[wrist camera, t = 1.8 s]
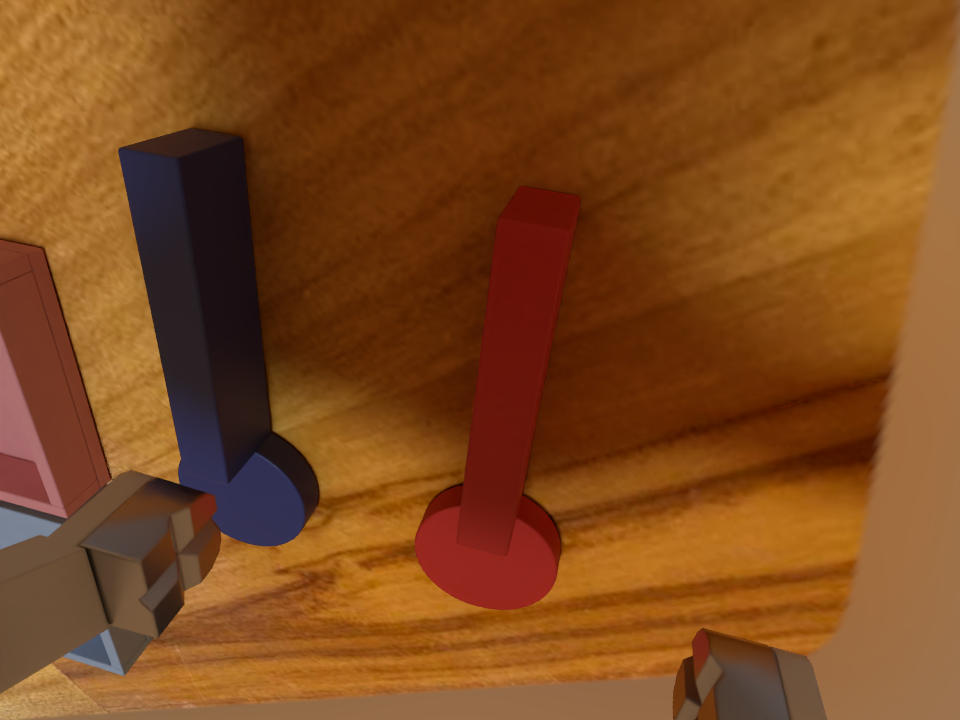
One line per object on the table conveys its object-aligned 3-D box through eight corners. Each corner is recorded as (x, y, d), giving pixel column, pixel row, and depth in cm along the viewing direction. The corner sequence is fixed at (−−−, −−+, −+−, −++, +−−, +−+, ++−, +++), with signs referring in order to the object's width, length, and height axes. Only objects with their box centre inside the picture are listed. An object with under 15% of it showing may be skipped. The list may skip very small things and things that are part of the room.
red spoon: (453, 172, 13) (419, 203, 11) (652, 207, 13) (654, 246, 11) (420, 564, 20) (395, 626, 18) (548, 599, 20) (537, 666, 18)
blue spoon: (133, 117, 15) (51, 135, 12) (303, 146, 14) (245, 170, 12) (206, 507, 21) (161, 559, 19) (321, 538, 21) (286, 595, 19)
